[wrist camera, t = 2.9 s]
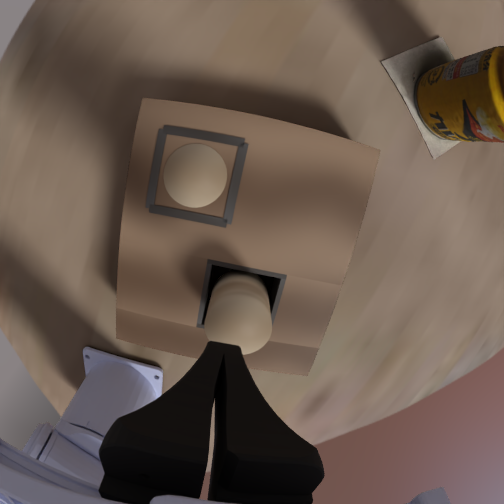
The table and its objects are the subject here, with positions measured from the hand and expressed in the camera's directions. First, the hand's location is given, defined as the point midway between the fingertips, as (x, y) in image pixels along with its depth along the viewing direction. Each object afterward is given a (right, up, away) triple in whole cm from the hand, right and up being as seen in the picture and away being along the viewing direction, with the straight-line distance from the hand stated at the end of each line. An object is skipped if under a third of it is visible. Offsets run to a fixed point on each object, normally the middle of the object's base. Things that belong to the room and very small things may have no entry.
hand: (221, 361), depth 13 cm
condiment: (+16, +17, +6) cm, 24 cm away
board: (0, +6, +9) cm, 11 cm away
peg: (+1, +2, +7) cm, 7 cm away
